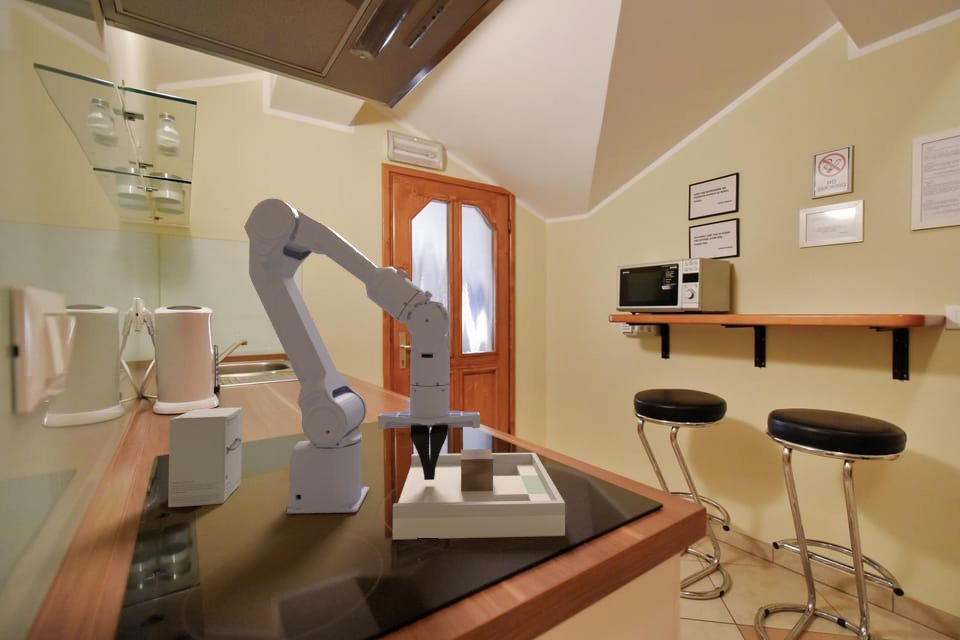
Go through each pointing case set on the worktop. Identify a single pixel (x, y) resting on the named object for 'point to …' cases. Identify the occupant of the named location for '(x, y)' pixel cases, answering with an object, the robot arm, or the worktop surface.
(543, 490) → the box
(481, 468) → the walnut block
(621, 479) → the worktop surface
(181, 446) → the supplement box
